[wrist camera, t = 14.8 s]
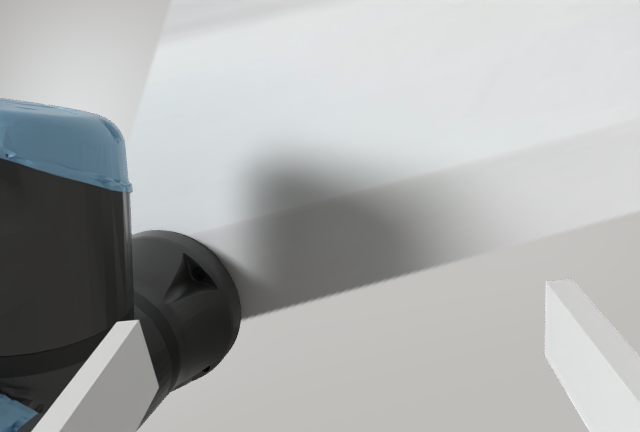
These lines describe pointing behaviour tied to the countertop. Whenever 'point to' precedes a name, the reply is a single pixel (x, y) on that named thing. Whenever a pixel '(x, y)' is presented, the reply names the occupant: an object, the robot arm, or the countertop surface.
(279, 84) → the countertop surface
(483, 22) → the countertop surface
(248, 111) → the countertop surface
